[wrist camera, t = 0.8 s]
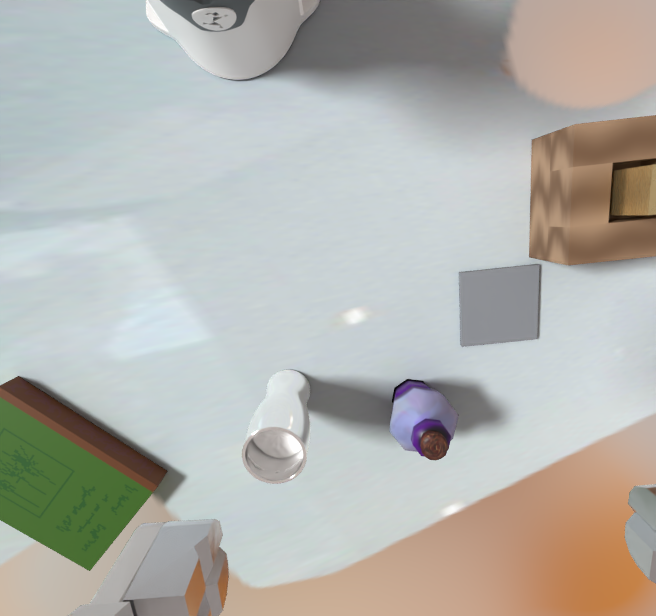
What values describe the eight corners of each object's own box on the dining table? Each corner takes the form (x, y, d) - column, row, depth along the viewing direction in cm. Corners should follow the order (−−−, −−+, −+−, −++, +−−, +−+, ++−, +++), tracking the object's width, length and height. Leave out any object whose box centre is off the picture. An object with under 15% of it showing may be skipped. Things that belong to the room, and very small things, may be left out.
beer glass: (301, 358, 52) (291, 415, 37) (321, 401, 53) (319, 471, 39) (255, 377, 52) (227, 440, 38) (276, 419, 54) (258, 495, 39)
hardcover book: (168, 468, 56) (157, 486, 53) (104, 549, 60) (89, 570, 56) (16, 371, 52) (-7, 383, 49) (-43, 463, 56) (-69, 480, 52)
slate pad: (459, 272, 49) (460, 272, 48) (536, 264, 49) (539, 264, 48) (460, 345, 51) (462, 346, 51) (534, 337, 51) (537, 339, 50)
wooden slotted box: (531, 139, 45) (574, 124, 37) (650, 126, 45) (719, 108, 37) (529, 257, 48) (568, 265, 41) (639, 245, 48) (700, 251, 40)
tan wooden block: (592, 173, 42) (652, 164, 34) (633, 169, 42) (702, 159, 34) (590, 215, 43) (647, 215, 35) (629, 210, 43) (696, 210, 35)
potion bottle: (447, 416, 54) (480, 472, 42) (388, 430, 54) (405, 489, 43) (436, 361, 52) (467, 404, 40) (374, 376, 52) (388, 423, 41)
